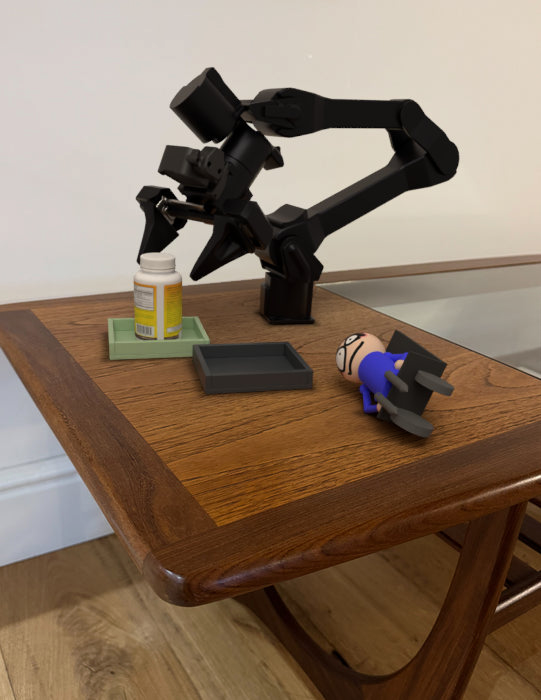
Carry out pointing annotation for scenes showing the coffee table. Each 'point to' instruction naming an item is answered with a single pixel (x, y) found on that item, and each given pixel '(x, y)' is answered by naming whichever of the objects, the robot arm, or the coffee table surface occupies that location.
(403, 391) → the character figurine
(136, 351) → the sage tray
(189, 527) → the coffee table surface
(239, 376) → the charcoal tray
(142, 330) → the supplement bottle
